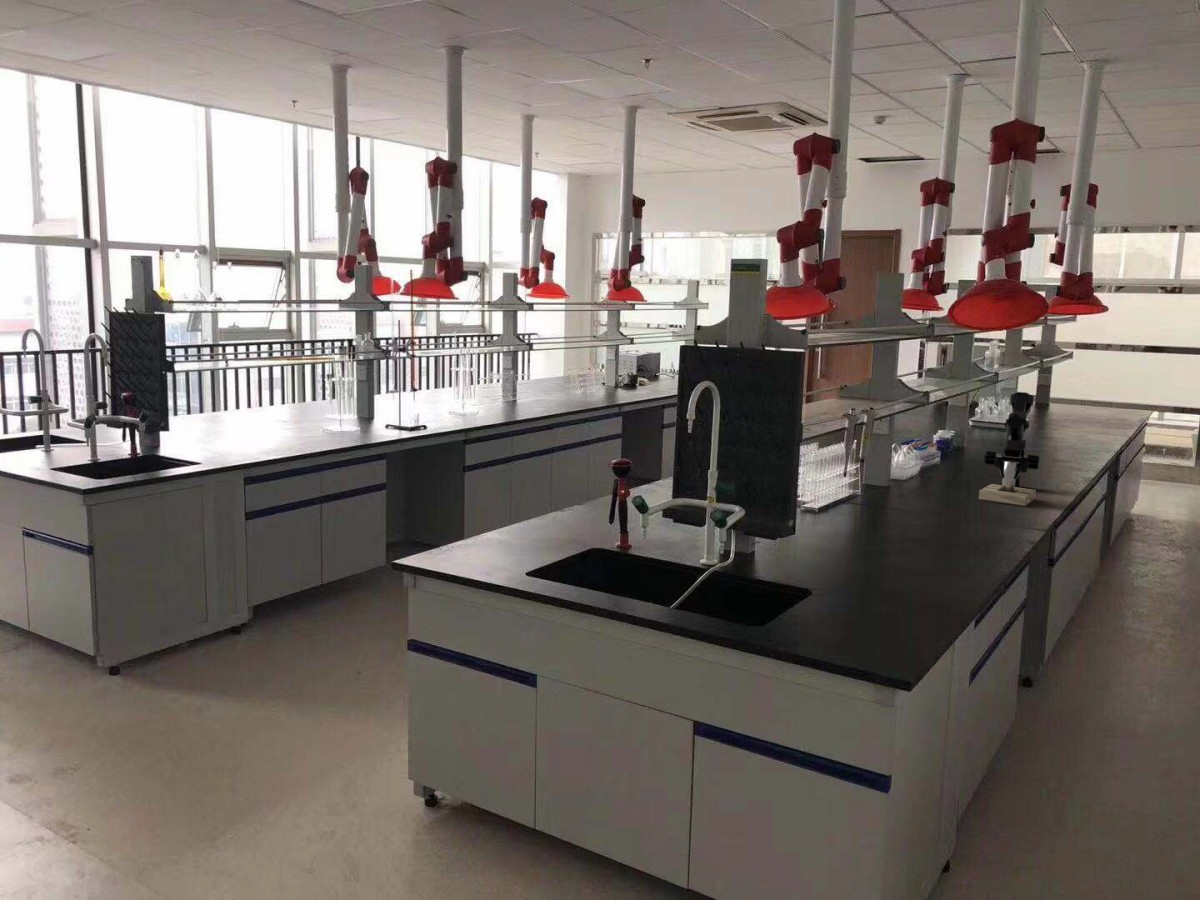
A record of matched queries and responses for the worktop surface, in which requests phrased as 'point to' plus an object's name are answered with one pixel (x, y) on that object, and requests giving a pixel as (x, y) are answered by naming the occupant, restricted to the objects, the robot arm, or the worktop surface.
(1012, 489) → the steel roller
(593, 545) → the worktop surface
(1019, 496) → the socket block
